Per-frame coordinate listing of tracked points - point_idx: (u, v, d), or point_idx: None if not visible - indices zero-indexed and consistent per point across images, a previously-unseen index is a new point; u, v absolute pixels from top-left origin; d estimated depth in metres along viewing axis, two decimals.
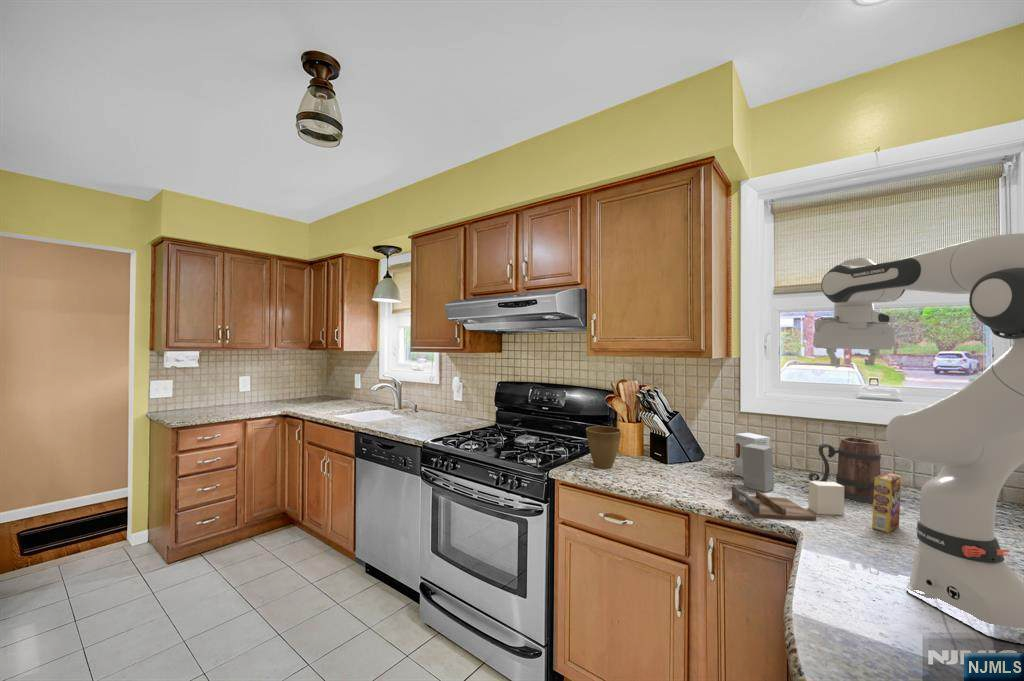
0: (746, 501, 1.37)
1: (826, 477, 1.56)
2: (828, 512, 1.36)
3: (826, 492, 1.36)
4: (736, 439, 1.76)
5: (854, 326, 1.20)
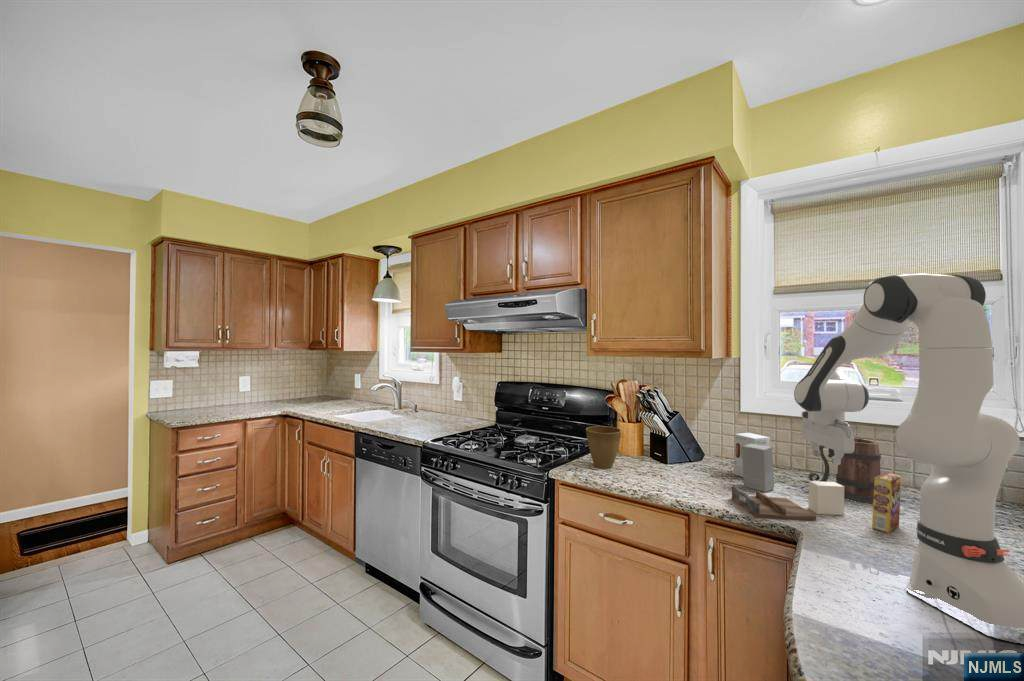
0: (746, 501, 1.37)
1: (826, 477, 1.56)
2: (828, 512, 1.36)
3: (826, 492, 1.36)
4: (736, 439, 1.76)
5: None
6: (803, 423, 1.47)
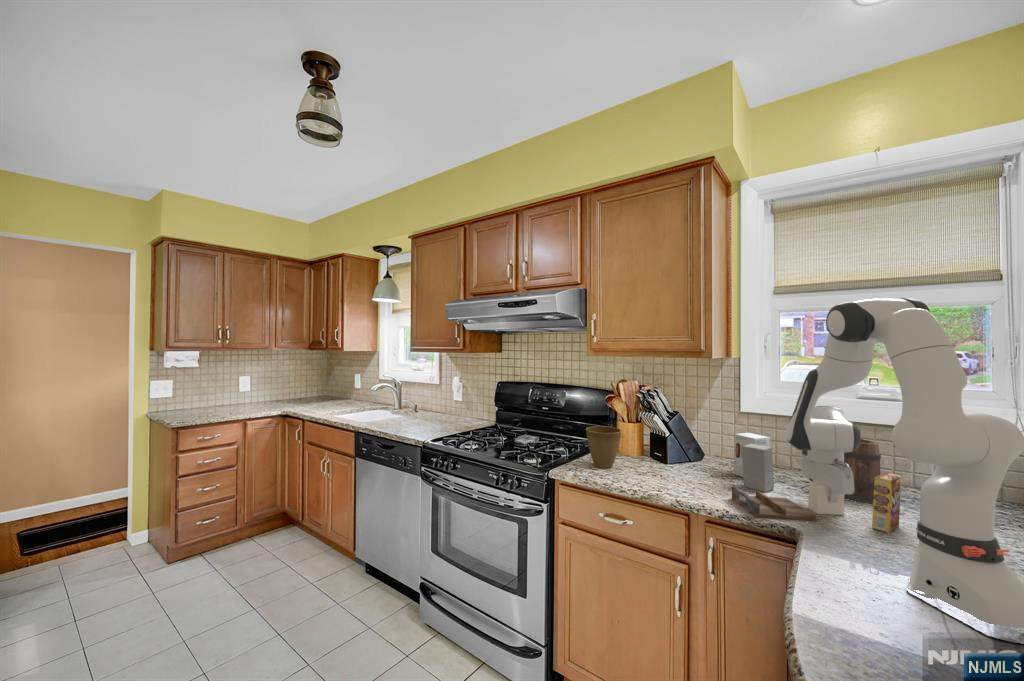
0: (746, 501, 1.37)
1: None
2: (828, 512, 1.36)
3: (826, 492, 1.36)
4: (736, 439, 1.76)
5: None
6: (803, 460, 1.46)
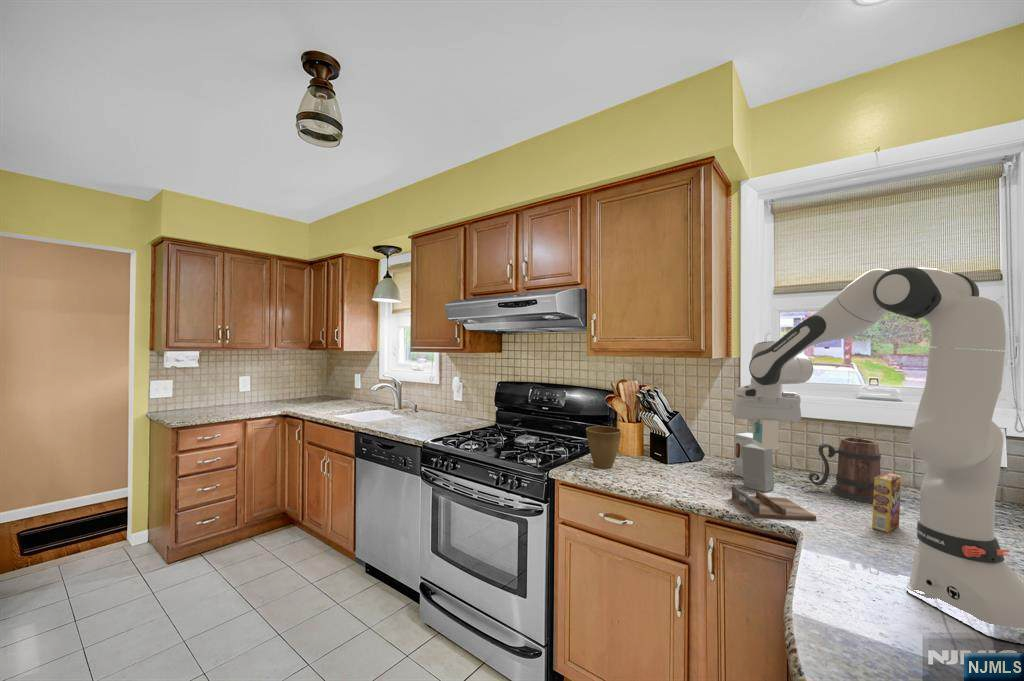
0: (746, 501, 1.37)
1: (826, 477, 1.56)
2: None
3: None
4: (736, 439, 1.76)
5: None
6: (741, 402, 1.38)
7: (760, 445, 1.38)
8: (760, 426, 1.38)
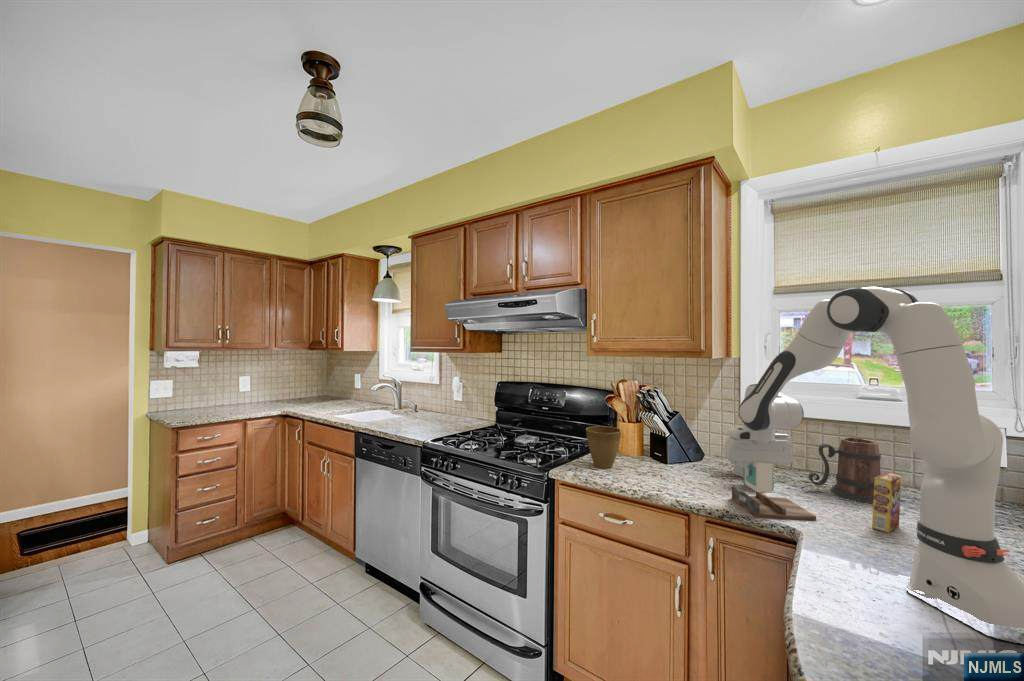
0: (746, 501, 1.37)
1: (826, 477, 1.56)
2: None
3: None
4: None
5: None
6: (735, 445, 1.37)
7: (754, 488, 1.37)
8: (754, 468, 1.37)
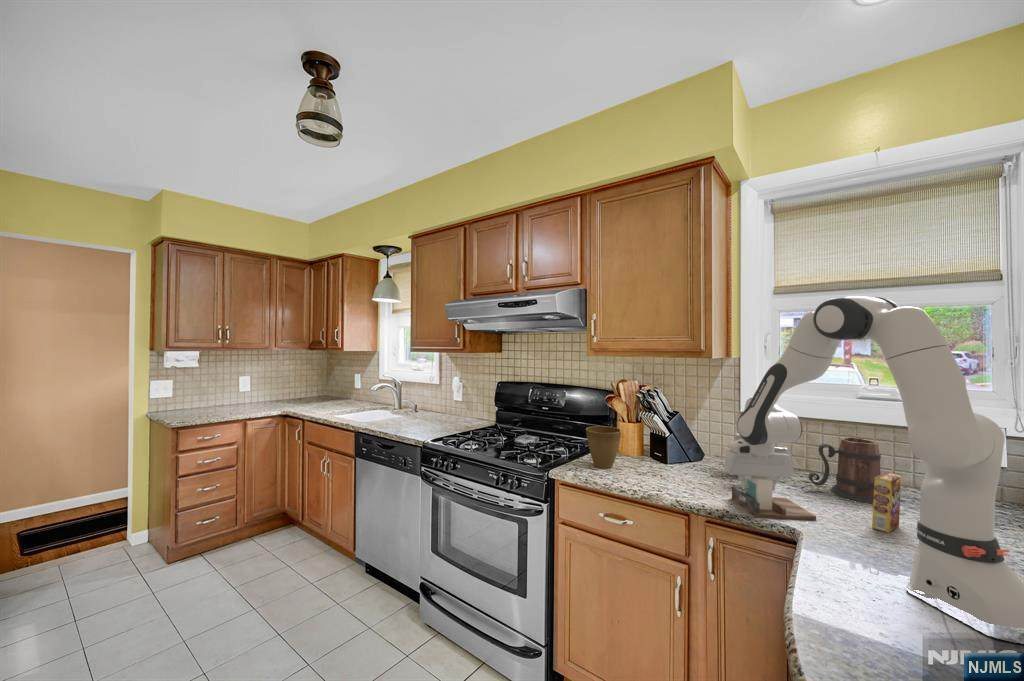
0: (746, 501, 1.37)
1: (826, 477, 1.56)
2: None
3: None
4: (736, 439, 1.76)
5: None
6: (735, 459, 1.37)
7: None
8: (754, 485, 1.37)
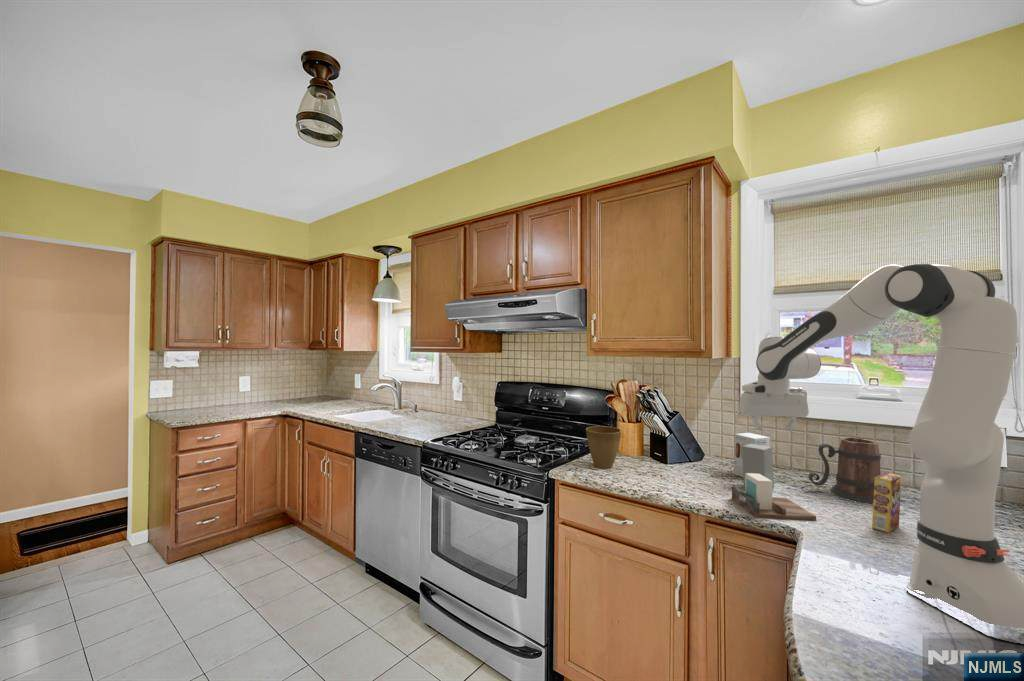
0: (746, 501, 1.37)
1: (826, 477, 1.56)
2: None
3: None
4: (736, 439, 1.76)
5: None
6: (750, 399, 1.36)
7: None
8: (754, 485, 1.37)
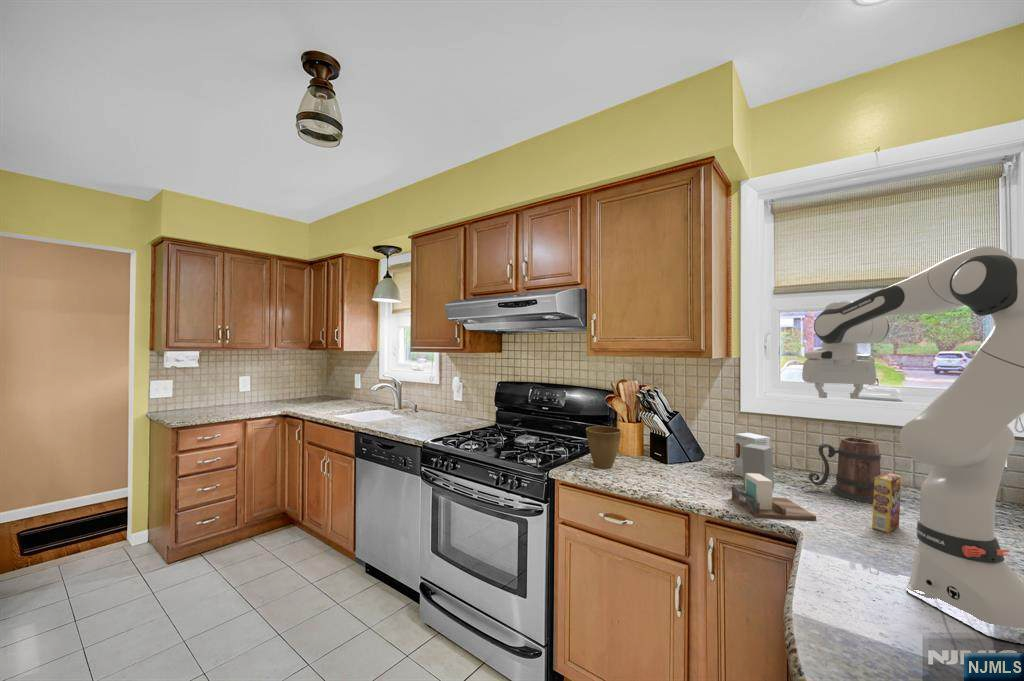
0: (746, 501, 1.37)
1: (826, 477, 1.56)
2: None
3: None
4: (736, 439, 1.76)
5: None
6: (816, 365, 1.31)
7: None
8: (754, 485, 1.37)
